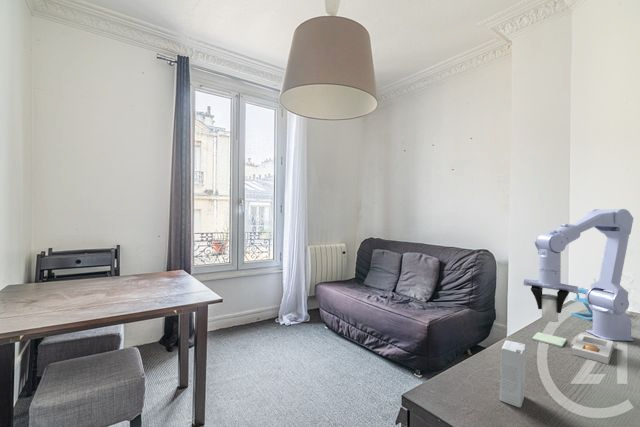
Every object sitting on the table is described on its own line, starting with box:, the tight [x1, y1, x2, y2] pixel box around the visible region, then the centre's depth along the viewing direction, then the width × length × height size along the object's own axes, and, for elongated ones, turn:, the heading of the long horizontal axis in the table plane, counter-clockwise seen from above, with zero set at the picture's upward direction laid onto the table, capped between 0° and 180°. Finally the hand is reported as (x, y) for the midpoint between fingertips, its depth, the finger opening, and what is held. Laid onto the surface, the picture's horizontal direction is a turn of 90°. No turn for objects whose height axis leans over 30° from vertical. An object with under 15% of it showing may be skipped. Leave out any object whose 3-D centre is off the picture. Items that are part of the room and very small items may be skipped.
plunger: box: [585, 344, 597, 352], centre depth 91 cm, size 3×3×2 cm
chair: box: [570, 287, 593, 322], centre depth 125 cm, size 8×8×12 cm
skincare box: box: [499, 339, 527, 408], centre depth 69 cm, size 6×4×12 cm
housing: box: [571, 333, 614, 365], centre depth 94 cm, size 16×8×2 cm, turn 132°
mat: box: [531, 331, 568, 348], centre depth 102 cm, size 8×8×1 cm
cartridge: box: [541, 293, 559, 323], centre depth 102 cm, size 5×5×8 cm
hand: (549, 310), depth 102 cm, fingers closed on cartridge, 5 cm apart
